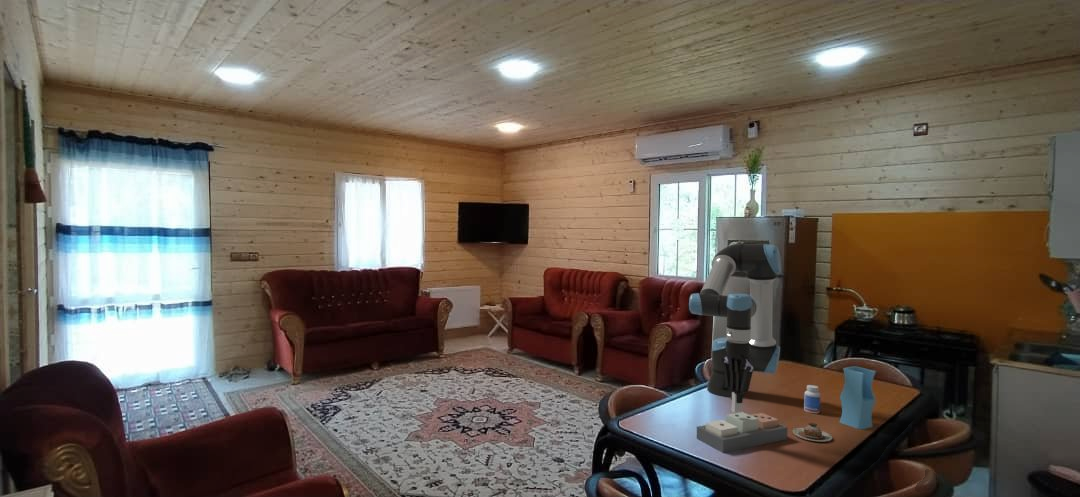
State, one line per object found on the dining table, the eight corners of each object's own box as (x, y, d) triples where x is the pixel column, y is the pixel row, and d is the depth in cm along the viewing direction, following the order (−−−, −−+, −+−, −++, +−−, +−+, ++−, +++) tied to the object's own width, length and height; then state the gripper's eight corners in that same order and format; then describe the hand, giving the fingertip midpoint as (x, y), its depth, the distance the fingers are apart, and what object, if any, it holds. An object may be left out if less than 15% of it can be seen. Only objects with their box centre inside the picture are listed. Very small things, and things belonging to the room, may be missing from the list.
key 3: (746, 426, 181) (746, 414, 181) (761, 424, 184) (761, 412, 184) (762, 434, 175) (763, 421, 175) (777, 431, 178) (778, 418, 178)
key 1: (705, 434, 174) (705, 422, 174) (721, 431, 177) (722, 419, 177) (720, 442, 167) (721, 429, 167) (737, 439, 170) (737, 426, 170)
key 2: (726, 426, 178) (726, 414, 177) (742, 423, 180) (742, 411, 180) (742, 433, 171) (742, 421, 171) (758, 430, 174) (758, 418, 174)
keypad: (696, 438, 176) (696, 426, 175) (758, 426, 187) (759, 415, 187) (722, 452, 165) (723, 440, 165) (787, 439, 176) (787, 427, 176)
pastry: (831, 447, 171) (831, 433, 171) (790, 439, 177) (790, 425, 177) (833, 435, 181) (833, 422, 181) (794, 428, 187) (795, 415, 187)
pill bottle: (821, 414, 201) (822, 389, 200) (806, 413, 202) (807, 387, 201) (817, 409, 206) (818, 384, 206) (802, 408, 207) (803, 383, 207)
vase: (860, 430, 185) (863, 373, 185) (839, 422, 192) (841, 368, 192) (874, 426, 189) (876, 371, 188) (852, 419, 196) (854, 365, 195)
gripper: (715, 337, 178) (713, 406, 179) (744, 345, 166) (742, 419, 167) (732, 336, 181) (730, 404, 182) (762, 344, 169) (760, 416, 170)
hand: (736, 411), depth 175 cm, fingers closed
